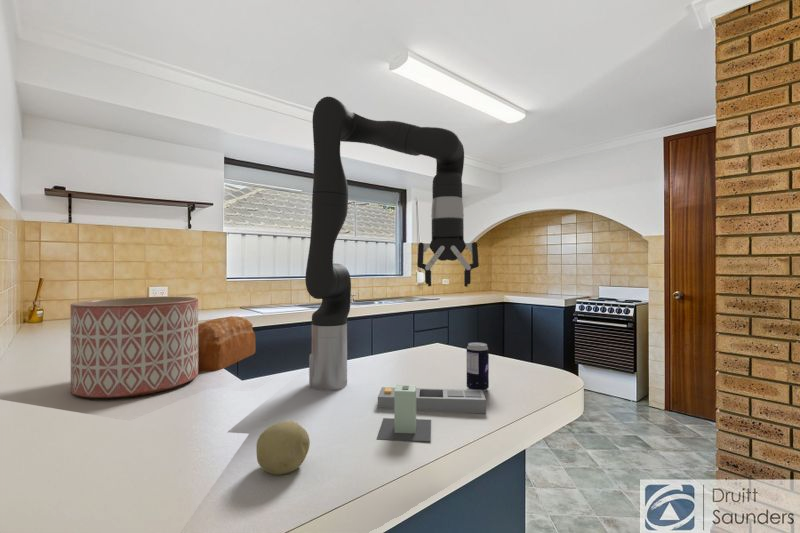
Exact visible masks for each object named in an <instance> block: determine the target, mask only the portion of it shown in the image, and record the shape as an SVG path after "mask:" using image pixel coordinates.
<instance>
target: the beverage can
mask: <svg viewBox="0 0 800 533" xmlns="http://www.w3.org/2000/svg"><path fill="white" fill-rule="evenodd" d="M488 347H489V346H488V344H487V343H485V342H478V341H477V342H468V344H467V347H466V388H467V389H471V390H482V391H483V393H485V392H486V391H487V390H488V389H489V387H490V384H489V382H490V379H489V375H490V374H489V372H490V371H489V368H490V367H489V366H490V365H489V364H490V363H489V362H490V361H489V360H490V358H489V354H490V353H489V352H490V350H489V348H488Z"/></svg>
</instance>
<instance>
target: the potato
mask: <svg viewBox="0 0 800 533" xmlns="http://www.w3.org/2000/svg"><path fill="white" fill-rule="evenodd" d="M310 442H311V441H310V436H309V433H308V432H307V430H306V429H305V428H304V427H303V426H301V425H300V424H298V423H297V422H295V421H293V420H284V421H283V420H282V421H279V422H277V423H273V424H272V425H270V426H269V427H267V428H265V429H264V430H263V431H262V432H261V433H260V435H259V436H258V438H257V441H256V448H255V449H256V460H257V463H258V465H259V467H260V468H261V469H262V470H264V471H265V472H267V473H269V474H272V475H277V476H280V475H286V474H289V473H292V472H294V471H296V470H297V469H298V468H299V467H301V465H302V464H303V462H304V461H305V459H306V458H307V455H308V453H309V450H310Z"/></svg>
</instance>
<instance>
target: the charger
mask: <svg viewBox="0 0 800 533" xmlns="http://www.w3.org/2000/svg"><path fill="white" fill-rule="evenodd" d="M394 388H395V391H394V409H393V410H394V415H393V416H394V419H395V433H415V432H416V419H417V410H416V388H417V385H416V384H396V385H395V387H394Z"/></svg>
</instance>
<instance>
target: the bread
mask: <svg viewBox="0 0 800 533" xmlns="http://www.w3.org/2000/svg"><path fill="white" fill-rule="evenodd" d="M254 354H256V333H255V331H254V330H253V324H252V323H251V321H249V320H248V319H247V318H244V317H242V316H241V317H240V316H238V315H237V316H232V315H231V316H225V317H220V318H214V319H208V320H206V321H204V322H200V323H199V322H198V372H219V371H221V370H223V369H225V368H228V367H230V366H231V365H234V364H236V363H238V362H240V361H242V360H244V359H247V358H249V357H251V356H253V355H254Z"/></svg>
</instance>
